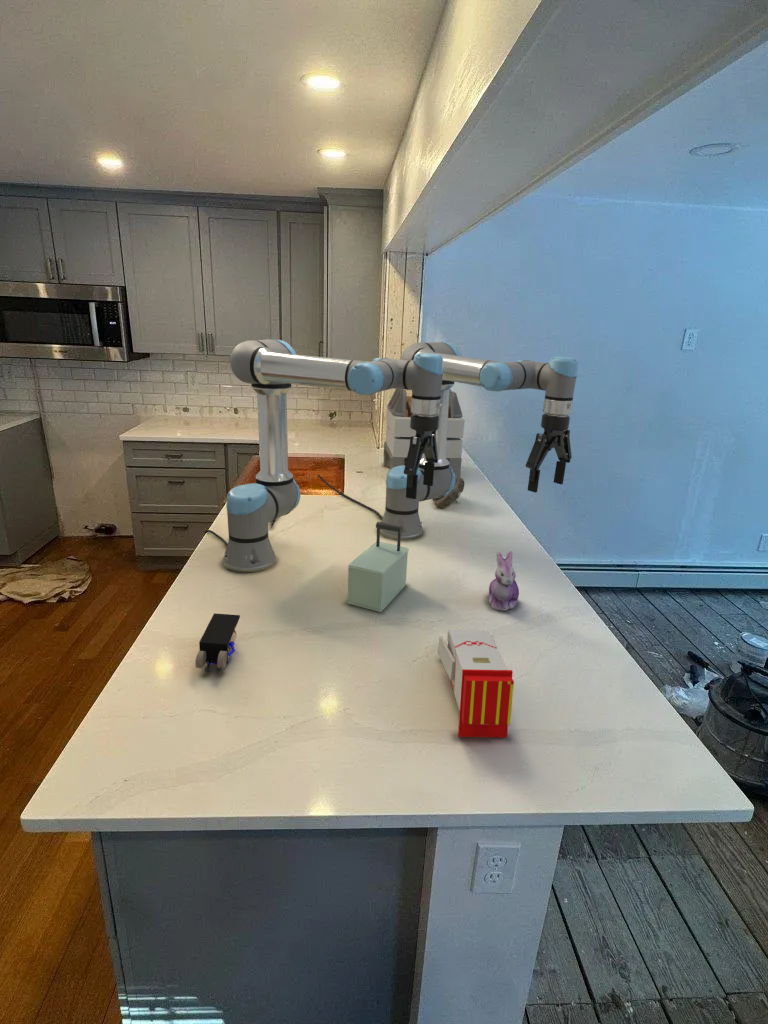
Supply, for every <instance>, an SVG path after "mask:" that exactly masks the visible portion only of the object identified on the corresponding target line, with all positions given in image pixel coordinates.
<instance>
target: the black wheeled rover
mask: <svg viewBox="0 0 768 1024" xmlns="http://www.w3.org/2000/svg"><path fill="white" fill-rule="evenodd" d="M240 618H241V615H240V614H230V613H229V614H228V613H215V612H214V613H213V615H212V617H211V618H210V621H209V622H208V623H207V626H206V627H205V630H204V632H203V634H202V636H201V638H200V640H199V642H198V644H199V650H198V651H197V654H196V657H195V668H196V669H203V668H204V671H205V673H208V672H209V671H210V668H211V667H212V665H216V666H217V668H219V669H218V673H221V672H222V671H223V669H225V668H226V665H228V664H229V659H230V657H231V656H232V655H233V654H234V653H235V652H236V649H235V641H236V640H237V632H236V628H237V625H238V623H239V620H240ZM229 647H230V651H229ZM205 665H206V667H205Z"/></svg>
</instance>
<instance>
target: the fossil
mask: <svg viewBox="0 0 768 1024" xmlns="http://www.w3.org/2000/svg"><path fill="white" fill-rule="evenodd" d="M464 489H465V480H464V478H462V477H461V476H460V477H457V478H456V477H455V485H454V488H453V489H452V491H451V492H450V493H449V494H448V495H445V496H442V497H441V498H435V499H432V501H433V504H434V505H435V508H436V509H445V508H448V507H451V505H453V504H454V503H455V502H456V503H458V501H457V500H458V499H459V498H460V496H461V494H462V493H463V491H464Z"/></svg>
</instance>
